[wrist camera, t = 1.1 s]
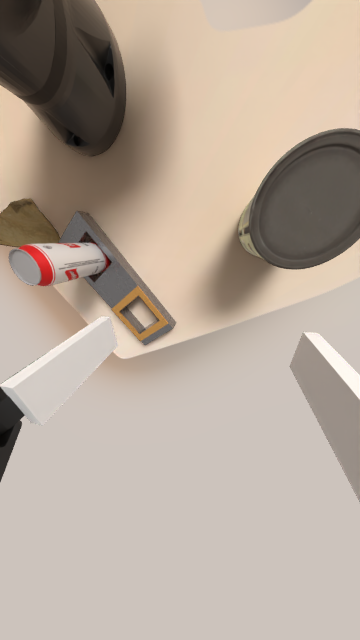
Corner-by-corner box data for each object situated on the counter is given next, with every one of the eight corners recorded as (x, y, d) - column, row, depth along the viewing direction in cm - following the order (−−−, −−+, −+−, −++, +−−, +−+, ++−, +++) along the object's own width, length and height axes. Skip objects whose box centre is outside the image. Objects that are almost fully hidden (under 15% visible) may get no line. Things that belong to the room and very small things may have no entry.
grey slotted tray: (67, 245, 37) (54, 246, 34) (88, 213, 32) (75, 210, 30) (149, 339, 44) (144, 345, 41) (176, 322, 39) (172, 329, 36)
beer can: (83, 247, 36) (-3, 252, 22) (103, 238, 34) (22, 237, 20) (96, 274, 38) (25, 293, 25) (116, 267, 36) (51, 283, 23)
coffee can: (323, 195, 23) (433, 146, 11) (282, 264, 28) (327, 283, 16) (255, 176, 24) (290, 111, 12) (228, 247, 29) (231, 252, 17)
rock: (1, 192, 33) (12, 245, 36) (-27, 177, 26) (-10, 244, 29) (64, 207, 37) (69, 252, 41) (55, 198, 30) (61, 253, 34)
